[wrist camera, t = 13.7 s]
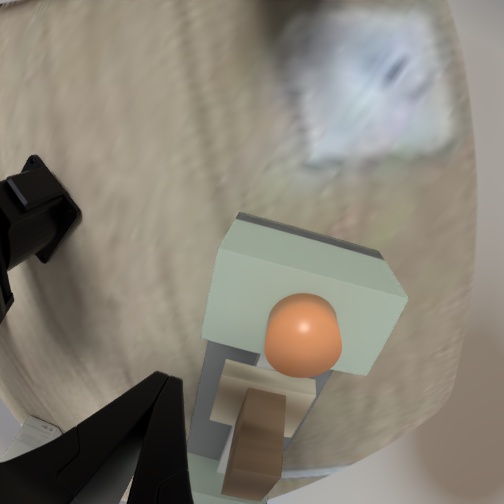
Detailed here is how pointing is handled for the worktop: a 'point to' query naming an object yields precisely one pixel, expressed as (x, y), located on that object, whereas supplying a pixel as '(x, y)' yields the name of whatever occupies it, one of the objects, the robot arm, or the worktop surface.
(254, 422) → the carriage
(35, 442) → the skincare box
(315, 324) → the orange knob
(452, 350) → the worktop surface
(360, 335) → the rail bench
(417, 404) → the worktop surface
